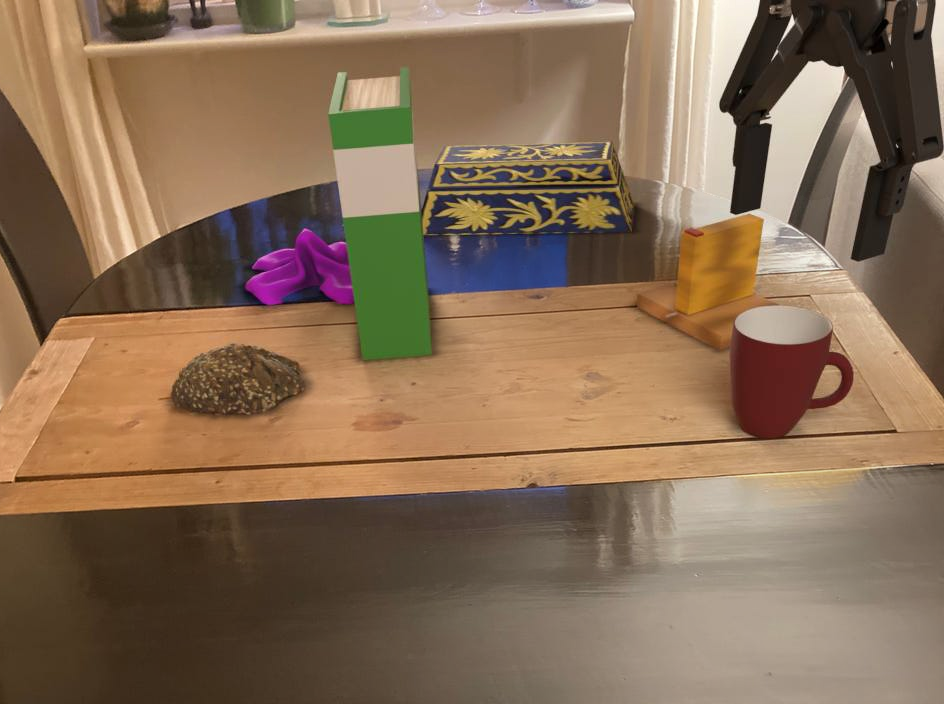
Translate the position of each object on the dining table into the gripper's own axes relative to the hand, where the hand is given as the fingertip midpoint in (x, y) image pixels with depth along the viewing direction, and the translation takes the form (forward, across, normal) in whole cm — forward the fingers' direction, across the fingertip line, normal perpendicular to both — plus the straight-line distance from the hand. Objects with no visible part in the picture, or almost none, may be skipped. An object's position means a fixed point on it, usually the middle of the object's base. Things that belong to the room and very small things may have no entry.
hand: (802, 232), depth 77 cm
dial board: (+17, -20, +10) cm, 28 cm away
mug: (+17, +2, -1) cm, 17 cm away
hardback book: (+17, -40, -19) cm, 47 cm away
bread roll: (+17, -35, -39) cm, 55 cm away
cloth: (+17, -60, -20) cm, 66 cm away
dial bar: (+15, -20, +10) cm, 27 cm away
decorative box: (+17, -60, +11) cm, 63 cm away
